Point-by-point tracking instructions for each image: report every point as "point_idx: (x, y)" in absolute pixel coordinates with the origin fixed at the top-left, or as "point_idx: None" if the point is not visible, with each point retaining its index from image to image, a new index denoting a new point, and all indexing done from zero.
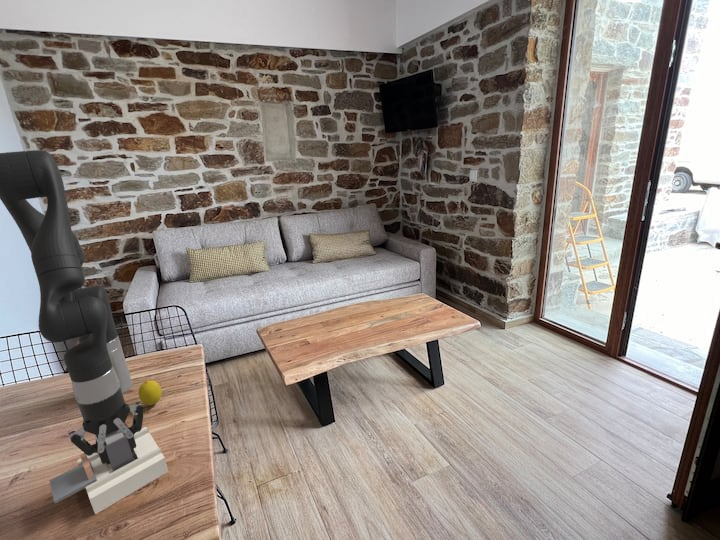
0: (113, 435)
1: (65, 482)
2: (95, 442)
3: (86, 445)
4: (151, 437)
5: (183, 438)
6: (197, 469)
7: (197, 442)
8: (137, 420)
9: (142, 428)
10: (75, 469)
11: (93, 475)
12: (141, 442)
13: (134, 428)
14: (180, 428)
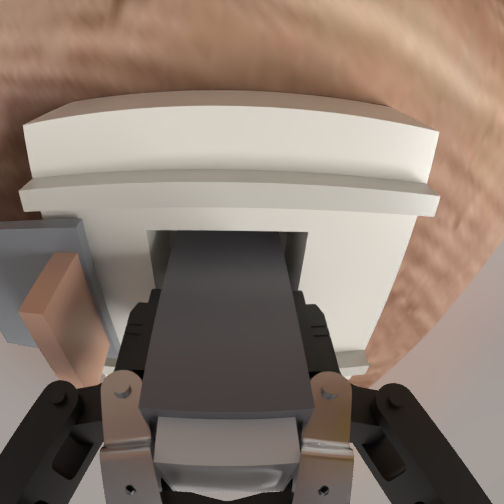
0: (227, 490)
1: (8, 293)
2: (103, 416)
3: (74, 485)
4: (401, 254)
5: (455, 227)
6: (379, 359)
7: (454, 279)
8: (388, 492)
9: (421, 128)
10: (21, 244)
11: (107, 351)
12: (353, 253)
13: (357, 441)
14: (485, 163)
